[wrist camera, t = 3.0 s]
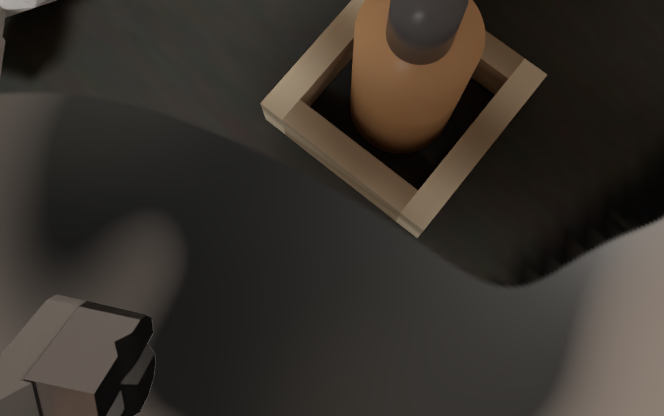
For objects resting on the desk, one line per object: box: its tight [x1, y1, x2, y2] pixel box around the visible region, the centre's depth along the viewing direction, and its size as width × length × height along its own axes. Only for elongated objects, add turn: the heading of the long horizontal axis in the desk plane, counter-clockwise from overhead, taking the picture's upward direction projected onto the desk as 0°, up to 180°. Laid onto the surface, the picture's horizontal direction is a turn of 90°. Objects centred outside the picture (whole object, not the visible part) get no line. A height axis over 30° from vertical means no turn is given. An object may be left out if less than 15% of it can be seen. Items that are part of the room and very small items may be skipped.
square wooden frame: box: [261, 0, 547, 238], centre depth 27 cm, size 9×9×2 cm
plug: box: [350, 0, 485, 154], centre depth 24 cm, size 5×5×10 cm
